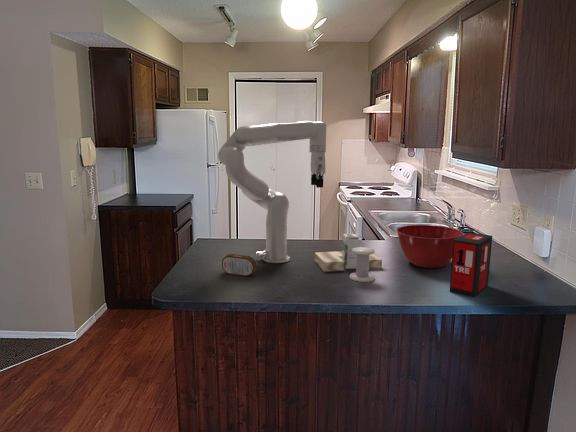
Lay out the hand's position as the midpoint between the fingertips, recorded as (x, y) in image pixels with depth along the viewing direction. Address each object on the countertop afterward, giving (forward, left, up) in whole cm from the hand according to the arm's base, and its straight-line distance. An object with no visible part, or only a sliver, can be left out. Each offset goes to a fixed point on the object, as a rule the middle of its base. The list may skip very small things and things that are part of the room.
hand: (316, 186), depth 212 cm
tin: (-39, -24, -34) cm, 57 cm away
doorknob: (+10, -37, -33) cm, 51 cm away
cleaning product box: (+46, -56, -34) cm, 80 cm away
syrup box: (+10, -22, -34) cm, 41 cm away
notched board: (+10, -18, -33) cm, 39 cm away
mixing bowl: (+46, -23, -34) cm, 61 cm away
